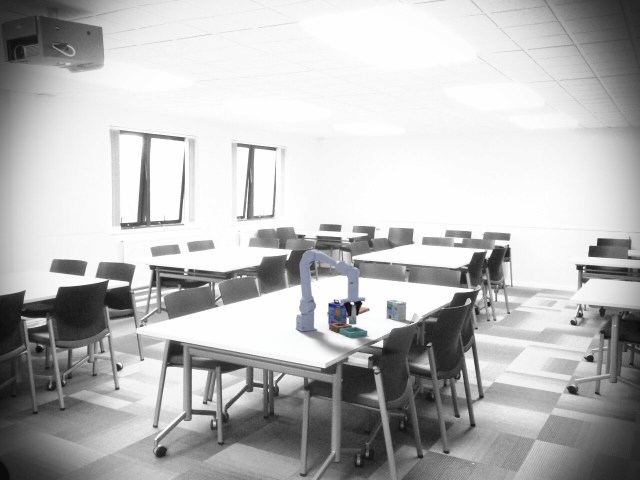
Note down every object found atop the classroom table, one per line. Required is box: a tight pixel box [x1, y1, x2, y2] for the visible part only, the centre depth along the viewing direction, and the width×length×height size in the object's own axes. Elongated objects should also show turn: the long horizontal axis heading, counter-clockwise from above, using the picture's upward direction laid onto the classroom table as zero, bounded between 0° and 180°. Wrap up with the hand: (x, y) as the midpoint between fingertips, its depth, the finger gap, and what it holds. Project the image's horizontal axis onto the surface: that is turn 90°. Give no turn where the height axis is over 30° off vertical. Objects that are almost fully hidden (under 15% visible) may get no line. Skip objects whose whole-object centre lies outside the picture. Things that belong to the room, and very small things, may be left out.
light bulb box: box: [386, 299, 407, 322], centre depth 338 cm, size 11×7×11 cm, turn 33°
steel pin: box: [348, 303, 357, 326], centre depth 299 cm, size 4×4×10 cm
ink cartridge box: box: [327, 299, 348, 325], centre depth 322 cm, size 10×6×14 cm, turn 51°
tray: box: [339, 326, 368, 339], centre depth 299 cm, size 11×11×2 cm
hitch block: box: [328, 322, 353, 334], centre depth 308 cm, size 9×9×3 cm
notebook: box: [326, 306, 370, 318], centre depth 358 cm, size 27×17×2 cm, turn 148°
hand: (352, 315), depth 299 cm, fingers closed on steel pin, 4 cm apart
